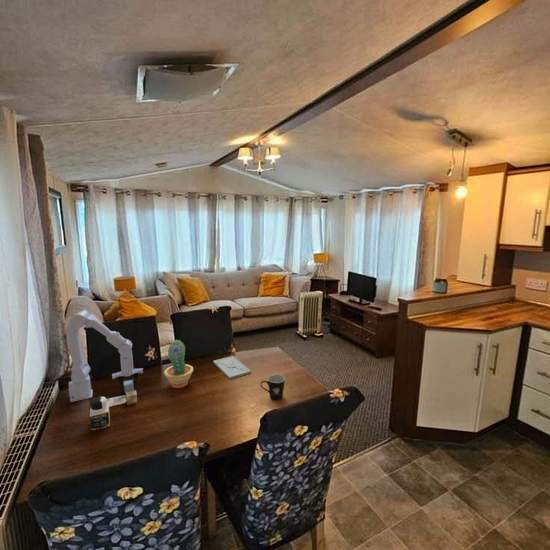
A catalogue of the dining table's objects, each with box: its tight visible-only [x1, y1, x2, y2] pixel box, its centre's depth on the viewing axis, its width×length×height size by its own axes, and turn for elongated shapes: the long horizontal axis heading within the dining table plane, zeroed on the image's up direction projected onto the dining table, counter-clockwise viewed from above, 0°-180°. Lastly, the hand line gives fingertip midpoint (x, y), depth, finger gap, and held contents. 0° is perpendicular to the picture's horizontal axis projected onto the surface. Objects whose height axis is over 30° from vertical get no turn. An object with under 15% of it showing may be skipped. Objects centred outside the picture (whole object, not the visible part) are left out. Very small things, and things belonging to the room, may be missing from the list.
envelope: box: [213, 355, 252, 380], centre depth 195 cm, size 24×2×14 cm
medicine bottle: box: [89, 396, 111, 431], centre depth 140 cm, size 7×7×12 cm
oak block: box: [125, 389, 138, 406], centre depth 158 cm, size 4×4×4 cm
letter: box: [106, 394, 127, 408], centre depth 159 cm, size 11×8×1 cm
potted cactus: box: [163, 339, 194, 389], centre depth 174 cm, size 15×15×25 cm
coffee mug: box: [260, 374, 286, 401], centre depth 163 cm, size 12×9×10 cm
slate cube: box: [123, 379, 135, 394], centre depth 169 cm, size 4×4×4 cm
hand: (128, 388), depth 169 cm, fingers closed on slate cube, 4 cm apart
